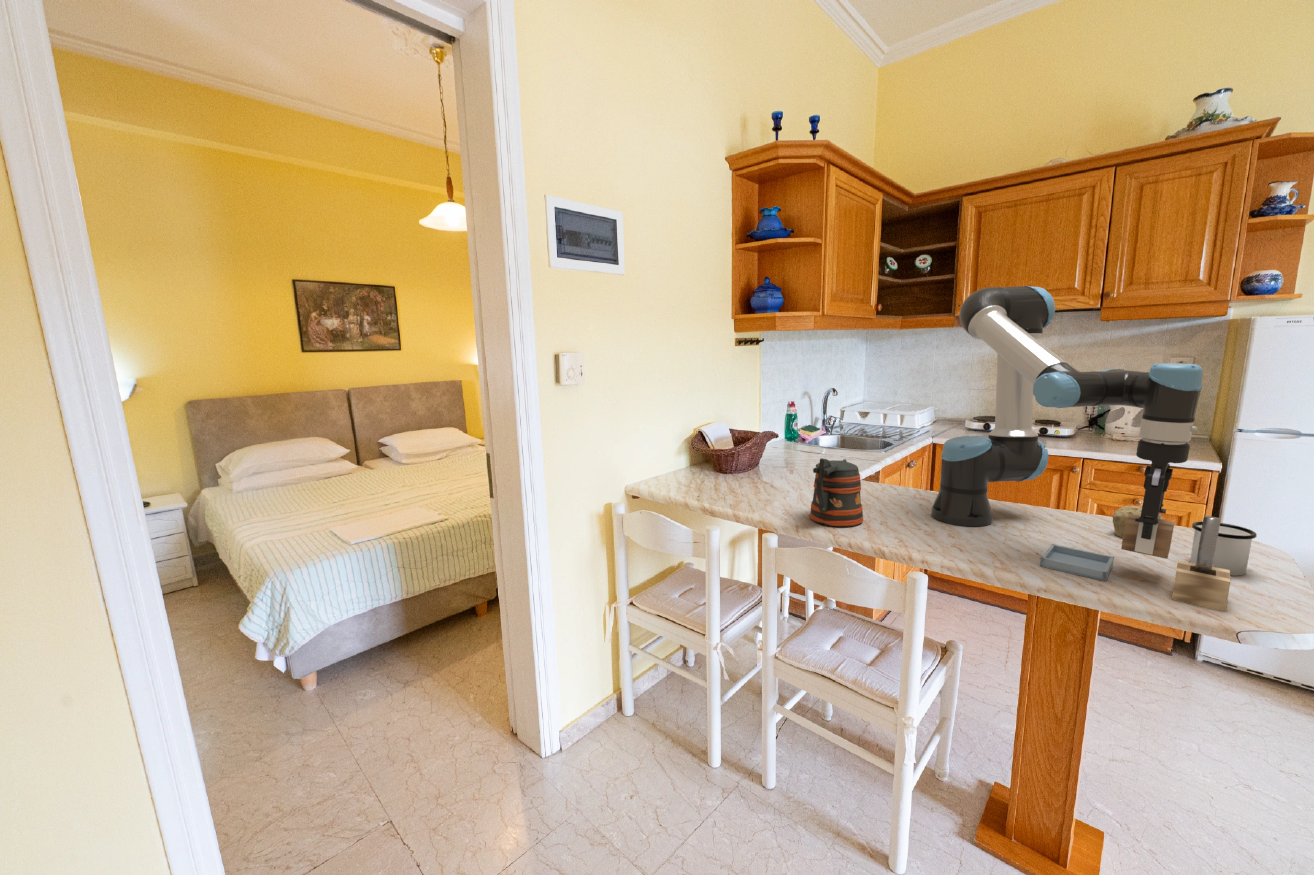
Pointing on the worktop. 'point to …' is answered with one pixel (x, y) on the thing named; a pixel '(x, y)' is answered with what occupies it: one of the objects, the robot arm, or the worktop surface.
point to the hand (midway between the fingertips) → (1145, 546)
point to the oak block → (1201, 586)
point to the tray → (1077, 562)
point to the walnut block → (1161, 538)
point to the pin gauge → (1207, 544)
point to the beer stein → (836, 494)
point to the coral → (1124, 518)
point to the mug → (1227, 547)
